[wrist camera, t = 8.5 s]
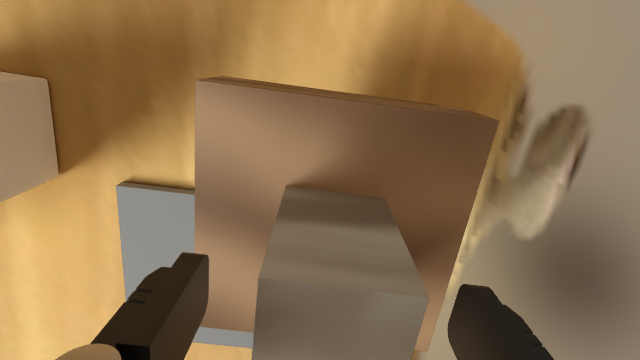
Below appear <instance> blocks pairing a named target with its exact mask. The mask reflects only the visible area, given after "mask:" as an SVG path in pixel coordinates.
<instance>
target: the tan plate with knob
mask: <svg viewBox="0 0 640 360" xmlns="http://www.w3.org/2000/svg"><path fill="white" fill-rule="evenodd" d="M498 123H499V121H498V120H495V119H492V118H489V117H486V116H483V115H480V114H477V113H474V112H471V111H468V110H465V109H462V108H455V107H447V106H440V105H433V104H425V103H418V102H410V101H403V100H396V99H388V98H381V97H374V96H366V95H359V94H352V93H344V92H337V91H329V90H322V89H315V88H307V87H300V86H293V85H285V84H278V83H271V82H263V81H256V80H248V79H241V78H234V77H226V76H220V77H213V78H206V79H199V80H195V241H194V253H196V254H205V255H208V256H209V297H208V304H207V308H206V312H205V315H204V317H203V320H202V322H201V324H200V326H199V327H205V328H215V329H224V330H233V331H242V332H252V333H254V337H253V349H252V360H411V359H412V356H413V353H414V350H418V351H428V348H429V345H430V342H431V339H432V335H433V332H434V329H435V326H436V322H437V319H438V316H439V313H440V310H441V306H442V303H443V300H444V297H445V293H446V290H447V287H448V284H449V281H450V277H451V274H452V271H453V268H454V265H455V261H456V258H457V255H458V252H459V248H460V245H461V242H462V239H463V236H464V232H465V229H466V226H467V223H468V219H469V216H470V213H471V210H472V207H473V203H474V200H475V197H476V194H477V191H478V187H479V184H480V181H481V178H482V174H483V171H484V168H485V165H486V162H487V158H488V155H489V152H490V149H491V145H492V142H493V139H494V136H495V133H496V129H497V126H498Z"/></svg>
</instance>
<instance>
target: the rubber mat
mask: <svg viewBox="0 0 640 360" xmlns="http://www.w3.org/2000/svg"><path fill="white" fill-rule="evenodd" d="M116 190H117V202H118V214H119V225H120V237H121V249H122V260H123V272H124V284H125V295H126V302H127V299H128V297H129V296H130V295H131V294H132V293H133V291H135V290H136V288H137V287H138V285H139V284H140V283H141V282H142V280H143V279H144V278H145V277H146V276H147V275H149V274H150V273H152V272H154V271H155V270H157V269H158V268H160V267H170V268H171V266H172V265H173V264H174V262H175V261H176V260H177V258H178V257H179V256H180V254H181V253H182V252H187V253H194V241H195V191H194V190H186V189H177V188H169V187H160V186H152V185H144V184H135V183H127V182H122V183H120V184H118V185H117V186H116ZM253 337H254V333H252V332H242V331H233V330H224V329H215V328H205V327H199V328H198V330H197V332H196V335H195V337H194V339H193V341H192V342H196V343H206V344H216V345H225V346H235V347H245V348H253Z"/></svg>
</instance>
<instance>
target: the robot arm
mask: <svg viewBox="0 0 640 360" xmlns="http://www.w3.org/2000/svg"><path fill="white" fill-rule="evenodd" d="M208 297H209V256H208V255H205V254H196V253H187V252H182V253H181V254H180V256H179V257H178V258H177V260H176V261H175V262H174V264H173V265H172V266H171V268H170V267H160V268H158V269H157V270H155V271H154V272H152V273H150V274H149V275H147V276H146V277H145V278H144V279H143V280H142V282H141V283H140V284H139V285H138V287H137V288H136V290H135V291H133V293H132V294H131V295H130V296H129V297H128V299H127V302H124V304H123V305H122V306H121V307H120V308H119V310H118V311H117V312H116V313H115V315H114V316H113V317H112V318H111V319H110V321H109V322H108V323H107V324H106V325H105V327H104V328H103V329H102V330H101V332H100V333H99V334H98V335H97V336H96V338H95V339H94V340H93V341H92V342H91V344H90V345H85V346H81V347H78V348H75V349H73V350H71V351H69V352H67V353H65V354H63V355H62V356H60V357H58V358H57V359H56V360H184V358H185V356H186V354H187V352H188V350H189V347H190V345H191V343H192V341H193V339H194V337H195V335H196V332H197V330H198V328H199V326H200V324H201V322H202V320H203V317H204V315H205V312H206V308H207V304H208ZM448 338H449V342H450V344H451V347H452V349H453V351H454V353H455V356H456V358H457V360H554V359H553V358H552V356H551V355H550V354H549V352H548V351H547V350H546V349H545V348H544V347H542V343H541V342H540V341H539V340H538V338H537V337H536V336H535V335H533V332H532V331H531V329H530V328H529V327H528V325H527V324H526V323H525V322H524V320H523V319H522V318H521V317H520V316H518V315H517V314H516V313H515V312H513V311H512V310H511V309H510V308H509V307H508V306H506V305H502V303H501V302H500V301H499V299H498V298H497V296H496V295H495V294H494V292H493V291H492V290H491V289H490V288H489V287H486V286H477V285H468V284H463V285H462V286H461V287H460V289H459V291H458V294H457V298H456V300H455V304H454V307H453V310H452V313H451V316H450V319H449V323H448Z"/></svg>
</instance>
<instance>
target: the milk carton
mask: <svg viewBox="0 0 640 360" xmlns="http://www.w3.org/2000/svg"><path fill="white" fill-rule="evenodd" d="M58 175H59V172H58V163H57V154H56V146H55V138H54V129H53V121H52V112H51V104H50V96H49V88H48V82H47V80H46V79H45V78H39V77H32V76H26V75H19V74H13V73H6V72H0V202H2V201H4V200H6V199H8V198H11V197H13V196H15V195H18V194H20V193H22V192H24V191H27V190H29V189H31V188H34V187H36V186H38V185H41V184H43V183H45V182H47V181H50V180H52V179H54V178H56V177H58Z"/></svg>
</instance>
